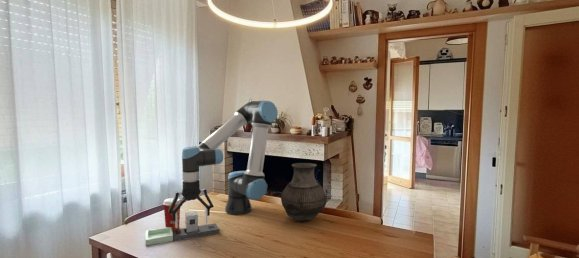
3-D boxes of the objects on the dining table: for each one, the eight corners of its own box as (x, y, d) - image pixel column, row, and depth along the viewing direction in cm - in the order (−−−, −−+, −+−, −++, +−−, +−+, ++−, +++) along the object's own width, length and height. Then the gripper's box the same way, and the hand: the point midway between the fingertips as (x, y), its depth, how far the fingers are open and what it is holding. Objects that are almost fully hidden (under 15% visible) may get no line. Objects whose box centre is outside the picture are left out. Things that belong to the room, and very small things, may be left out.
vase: (321, 231, 141) (321, 170, 139) (273, 225, 149) (274, 167, 147) (330, 214, 165) (331, 162, 163) (289, 209, 172) (289, 159, 170)
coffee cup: (175, 234, 138) (174, 202, 137) (159, 232, 139) (159, 201, 138) (184, 227, 146) (184, 197, 145) (170, 225, 147) (169, 196, 147)
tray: (171, 231, 140) (171, 226, 140) (173, 240, 130) (172, 235, 130) (145, 235, 135) (145, 230, 135) (145, 245, 125) (145, 239, 125)
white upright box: (196, 231, 140) (196, 211, 140) (198, 235, 136) (197, 214, 135) (185, 233, 138) (185, 212, 137) (186, 237, 133) (186, 216, 133)
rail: (215, 227, 146) (215, 223, 146) (219, 233, 138) (219, 228, 138) (173, 234, 137) (172, 229, 137) (174, 241, 130) (174, 236, 130)
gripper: (216, 176, 144) (216, 218, 145) (161, 180, 133) (162, 226, 135) (219, 179, 137) (219, 223, 139) (162, 184, 127) (163, 232, 128)
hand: (191, 224), depth 137 cm, fingers open, 13 cm apart
